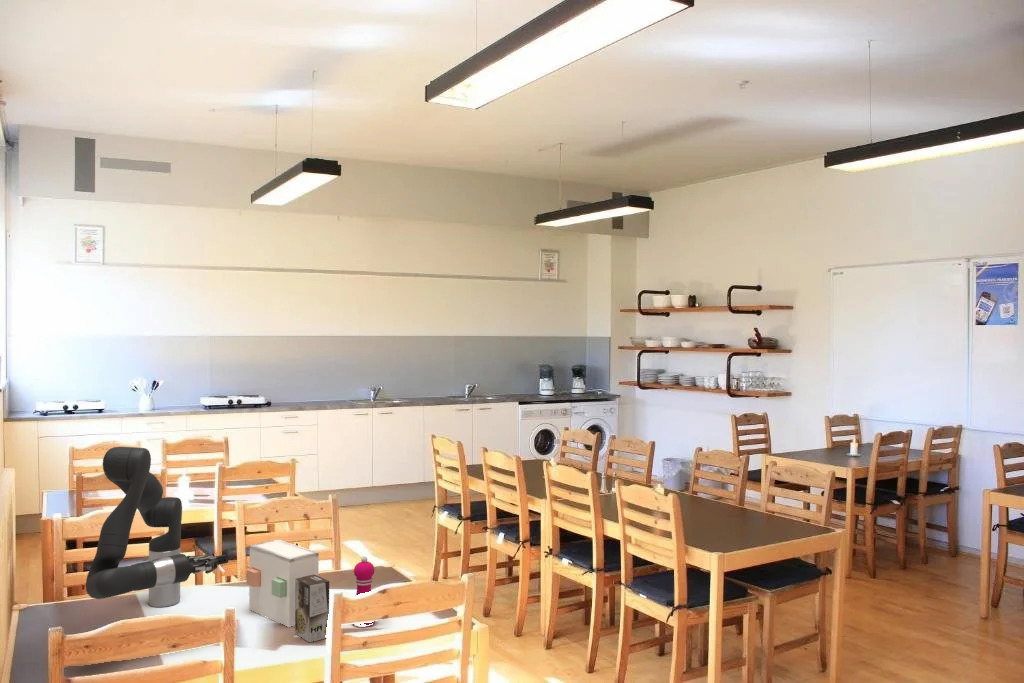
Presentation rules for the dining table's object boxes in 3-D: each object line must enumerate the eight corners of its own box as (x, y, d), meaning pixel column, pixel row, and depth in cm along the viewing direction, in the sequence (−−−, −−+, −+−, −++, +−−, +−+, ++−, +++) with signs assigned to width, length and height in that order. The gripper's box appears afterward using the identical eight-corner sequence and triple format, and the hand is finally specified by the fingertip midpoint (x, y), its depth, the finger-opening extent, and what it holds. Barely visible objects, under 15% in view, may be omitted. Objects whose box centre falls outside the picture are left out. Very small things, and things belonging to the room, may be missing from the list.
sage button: (271, 594, 240) (271, 579, 240) (283, 591, 243) (283, 576, 243) (279, 597, 238) (280, 582, 237) (291, 594, 241) (291, 579, 240)
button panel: (249, 609, 253) (249, 545, 252) (277, 601, 260) (278, 539, 260) (289, 627, 238) (289, 559, 238) (318, 618, 245) (318, 552, 245)
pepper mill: (365, 617, 247) (365, 551, 247) (381, 623, 242) (381, 556, 242) (346, 624, 241) (346, 556, 241) (362, 630, 237) (362, 561, 237)
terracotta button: (246, 584, 250) (246, 569, 250) (258, 581, 253) (258, 567, 253) (254, 587, 247) (254, 572, 247) (266, 584, 250) (266, 570, 250)
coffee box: (329, 637, 231) (330, 580, 231) (309, 643, 226) (309, 585, 226) (314, 628, 238) (315, 573, 237) (294, 633, 233) (294, 577, 233)
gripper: (179, 561, 217) (239, 549, 230) (156, 552, 226) (215, 541, 238) (179, 589, 217) (239, 576, 230) (156, 579, 226) (215, 566, 239)
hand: (227, 558), depth 234 cm, fingers closed
